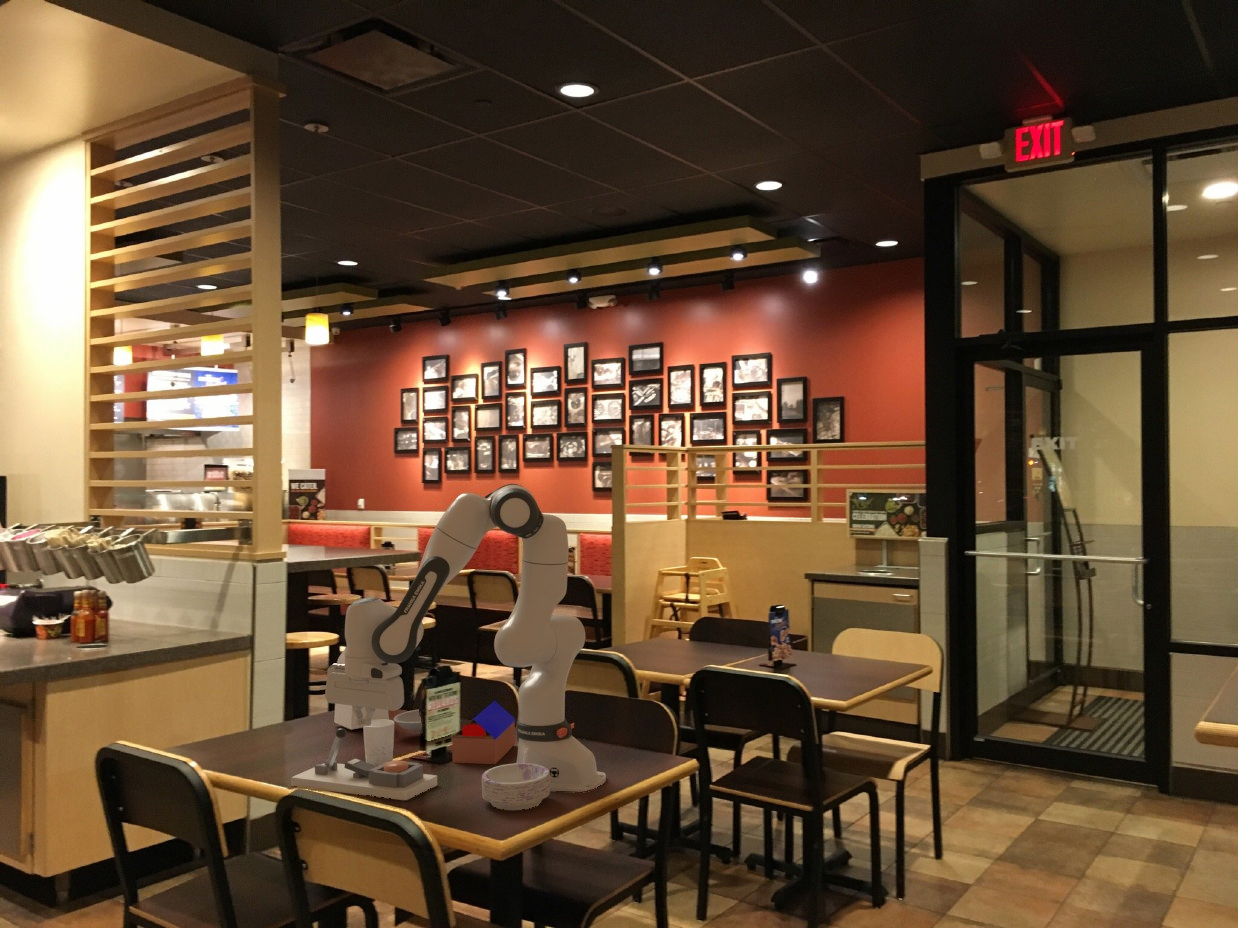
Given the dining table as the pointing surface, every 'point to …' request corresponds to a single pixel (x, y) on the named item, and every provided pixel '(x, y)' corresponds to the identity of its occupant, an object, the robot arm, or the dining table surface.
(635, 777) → the dining table surface
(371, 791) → the console
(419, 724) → the dish
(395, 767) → the push button
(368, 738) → the white cup
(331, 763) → the toggle lever
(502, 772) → the paper bowls
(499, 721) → the house
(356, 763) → the rocker switch
